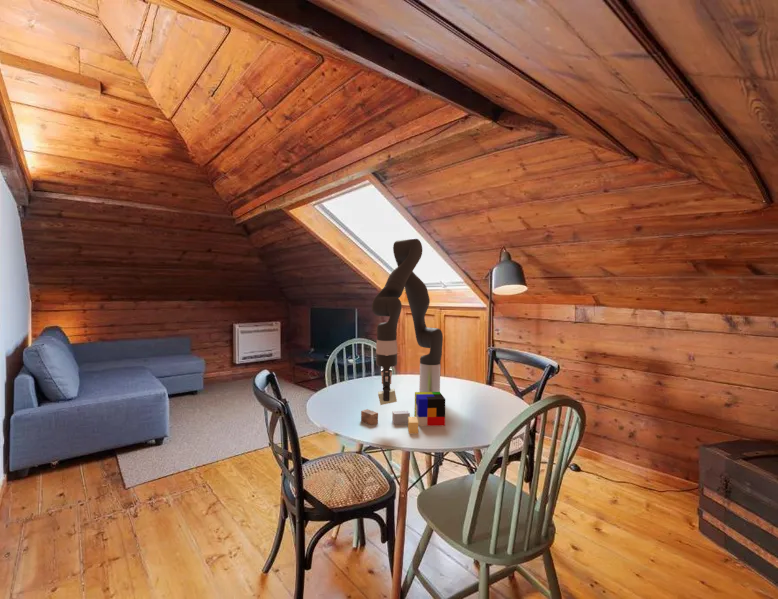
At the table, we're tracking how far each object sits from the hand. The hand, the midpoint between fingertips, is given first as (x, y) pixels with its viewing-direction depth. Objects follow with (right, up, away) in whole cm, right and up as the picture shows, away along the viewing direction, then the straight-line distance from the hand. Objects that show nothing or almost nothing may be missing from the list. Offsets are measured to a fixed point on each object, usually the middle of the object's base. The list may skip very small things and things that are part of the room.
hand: (386, 399), depth 143 cm
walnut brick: (-6, -11, +7) cm, 14 cm away
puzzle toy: (+17, -11, +9) cm, 22 cm away
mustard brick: (+10, -11, -1) cm, 15 cm away
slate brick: (+6, -11, +7) cm, 14 cm away
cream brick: (+1, -1, 0) cm, 1 cm away
